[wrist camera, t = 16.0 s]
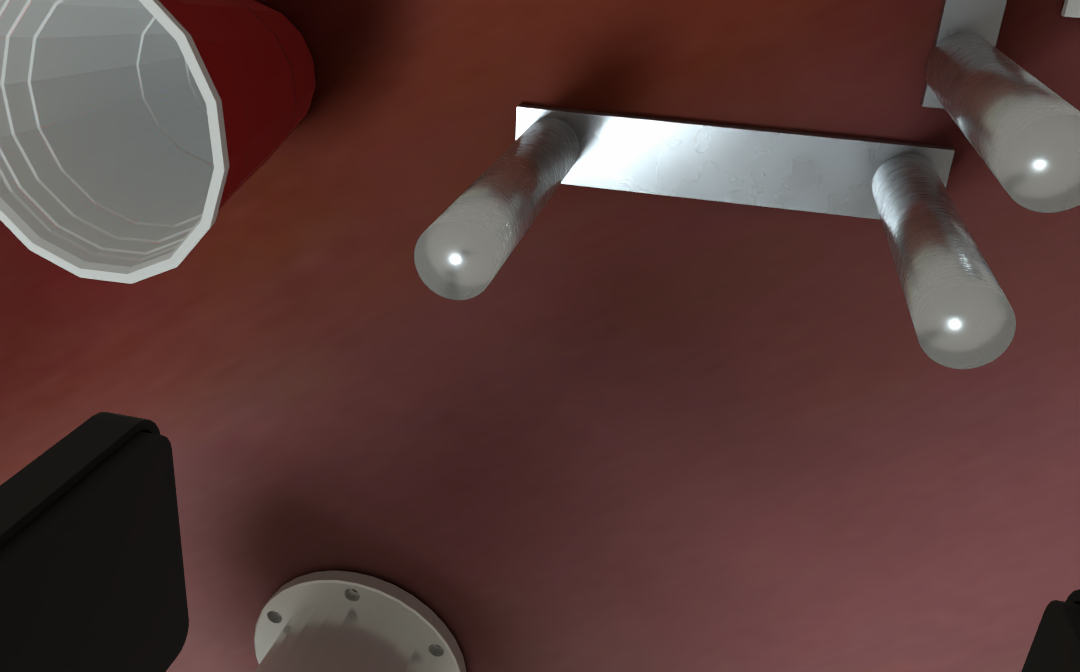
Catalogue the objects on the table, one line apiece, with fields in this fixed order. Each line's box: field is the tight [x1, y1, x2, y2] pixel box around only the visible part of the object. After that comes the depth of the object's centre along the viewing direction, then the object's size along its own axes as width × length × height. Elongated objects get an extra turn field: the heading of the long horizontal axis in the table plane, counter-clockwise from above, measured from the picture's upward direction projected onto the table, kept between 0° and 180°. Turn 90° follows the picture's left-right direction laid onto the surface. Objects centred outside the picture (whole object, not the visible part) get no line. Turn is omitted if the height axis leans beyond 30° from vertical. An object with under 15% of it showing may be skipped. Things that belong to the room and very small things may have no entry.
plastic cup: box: [0, 0, 316, 284], centre depth 36 cm, size 11×11×12 cm
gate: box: [414, 104, 1016, 369], centre depth 32 cm, size 3×17×14 cm, turn 87°
